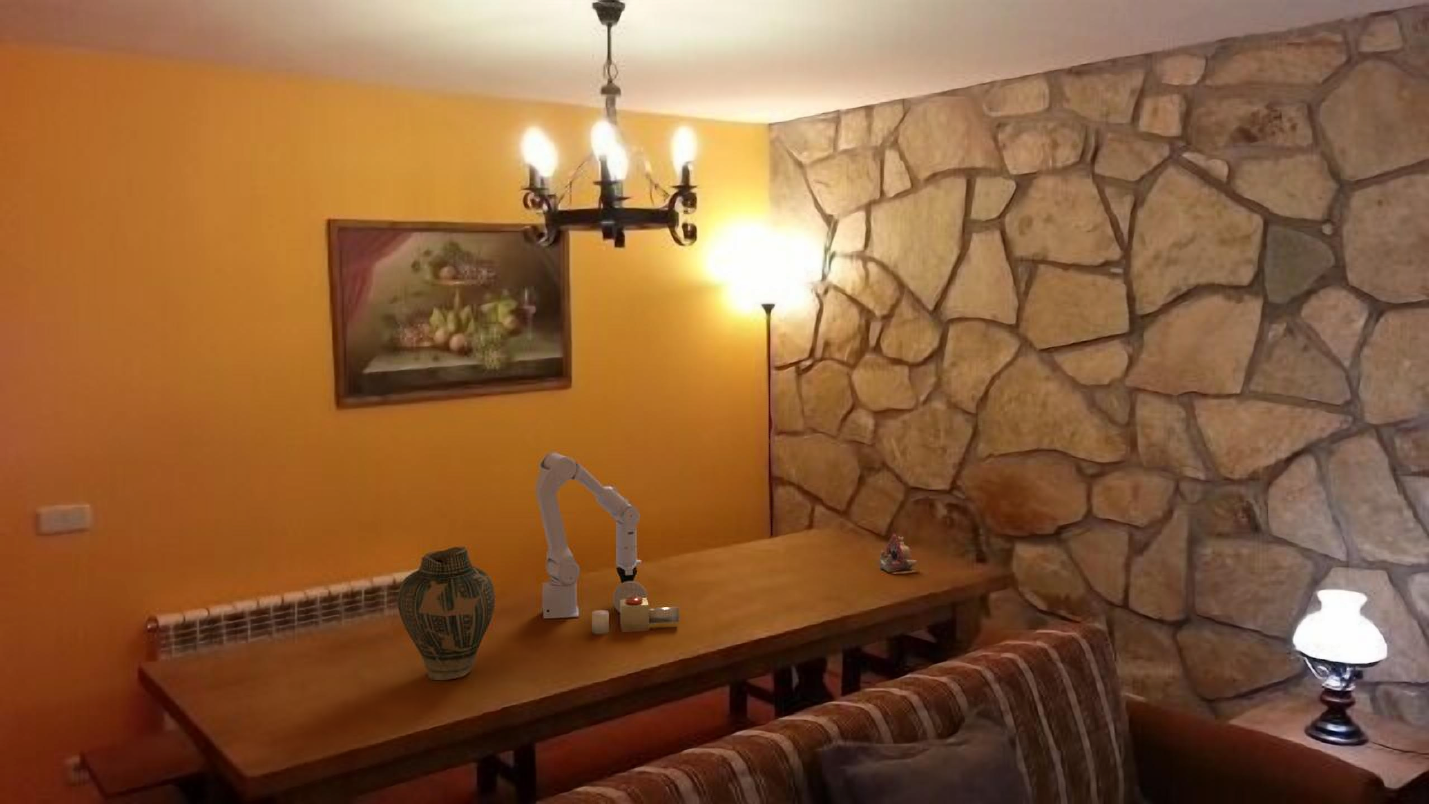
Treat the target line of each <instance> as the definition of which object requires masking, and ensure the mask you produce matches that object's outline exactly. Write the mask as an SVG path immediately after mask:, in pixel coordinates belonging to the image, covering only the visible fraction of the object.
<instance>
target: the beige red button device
mask: <svg viewBox="0 0 1429 804" xmlns="http://www.w3.org/2000/svg"><path fill="white" fill-rule="evenodd" d="M679 610H680V609H679V607H678V606H669V607H668V606H667V607H665V606H664V607H650V606H649V601H648V599H647V598H641V597H628V598H626V599H620V612H619V616H620V617H619V619H620V620H619V621H620V624H619V625H620V629H621V632H622V633H632V632H633V633H635V632H649V631H650V624H651V625H652V624H653V625H654V624H665V623H666V624H667V623H668V624H669V623H679V622H680V613H679V612H680V611H679Z"/></svg>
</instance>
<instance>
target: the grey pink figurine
mask: <svg viewBox="0 0 1429 804" xmlns="http://www.w3.org/2000/svg"><path fill="white" fill-rule="evenodd" d="M904 538H905V537H904V536H902V537H901V536H897V535H896V534H895V533H893V534H892V536H891V538H890V539H889V541H888V543H887V545H886V547H885V550H882V551H881V552H880V555H879V559H878V565H879V567H880V568H881V569H882V570H884V571H885V572H888V573H892V575H893V574H895V575H897V574H908V573H915V572H917V571H916V570H910V569H912V568H913V567H914V566H915V565H916V564H918V562H917V560H916V559H915V560H914V559H911V555H912V554H911V549H910V548H909V546H907V545H906V544H905V543H904ZM885 553H886V554H885Z"/></svg>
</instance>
